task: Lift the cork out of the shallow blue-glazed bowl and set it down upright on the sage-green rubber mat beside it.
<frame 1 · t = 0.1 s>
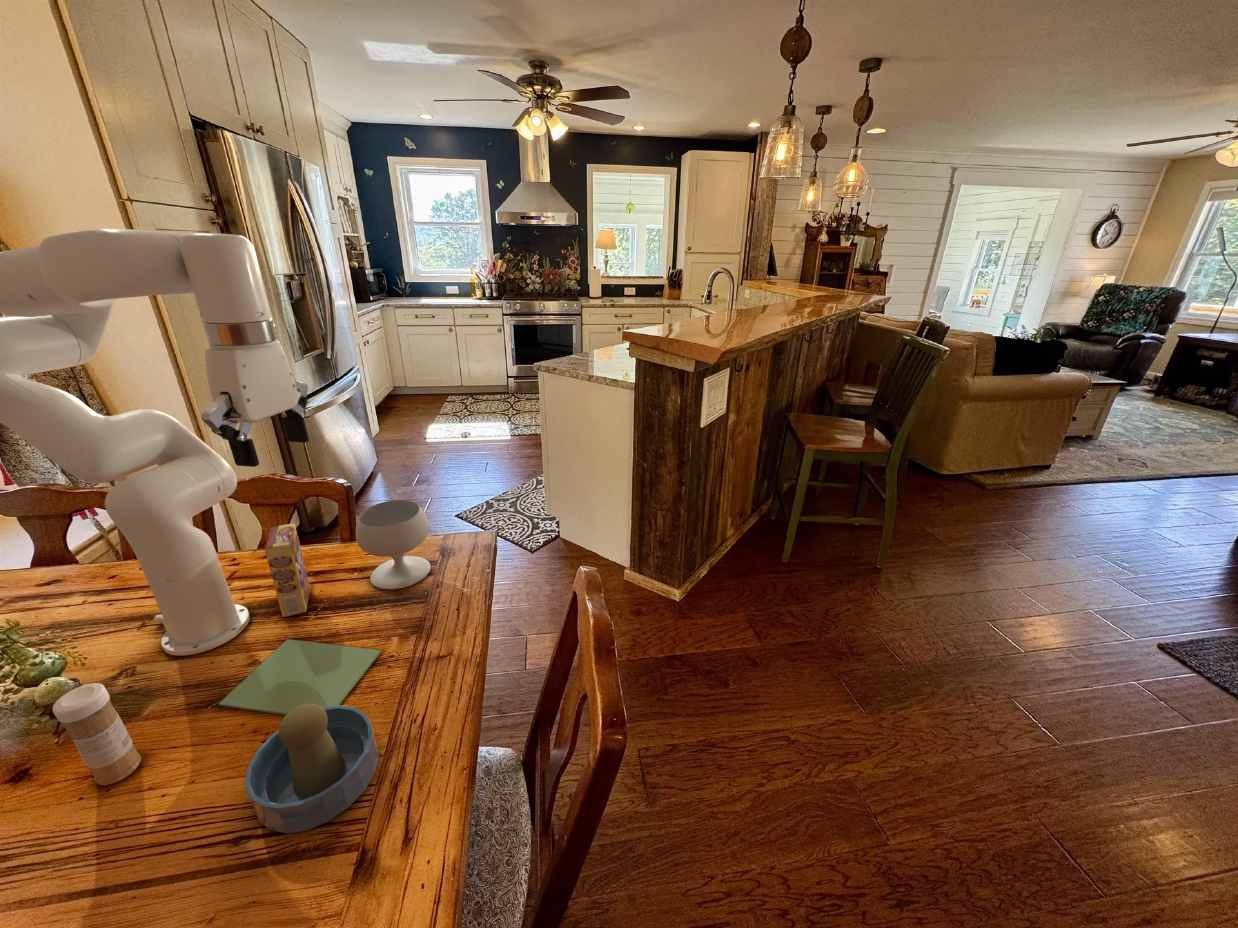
hand: (275, 452, 73), 37 cm above the table, tool pointing down, fingers open, 9 cm apart
cork: (320, 776, 65), resting on bowl
candy box: (298, 602, 98), on the table
sprinkles bottle: (120, 771, 66), on the table
chalice: (401, 574, 107), on the table
bowl: (320, 777, 65), on the table
mat: (305, 677, 80), on the table
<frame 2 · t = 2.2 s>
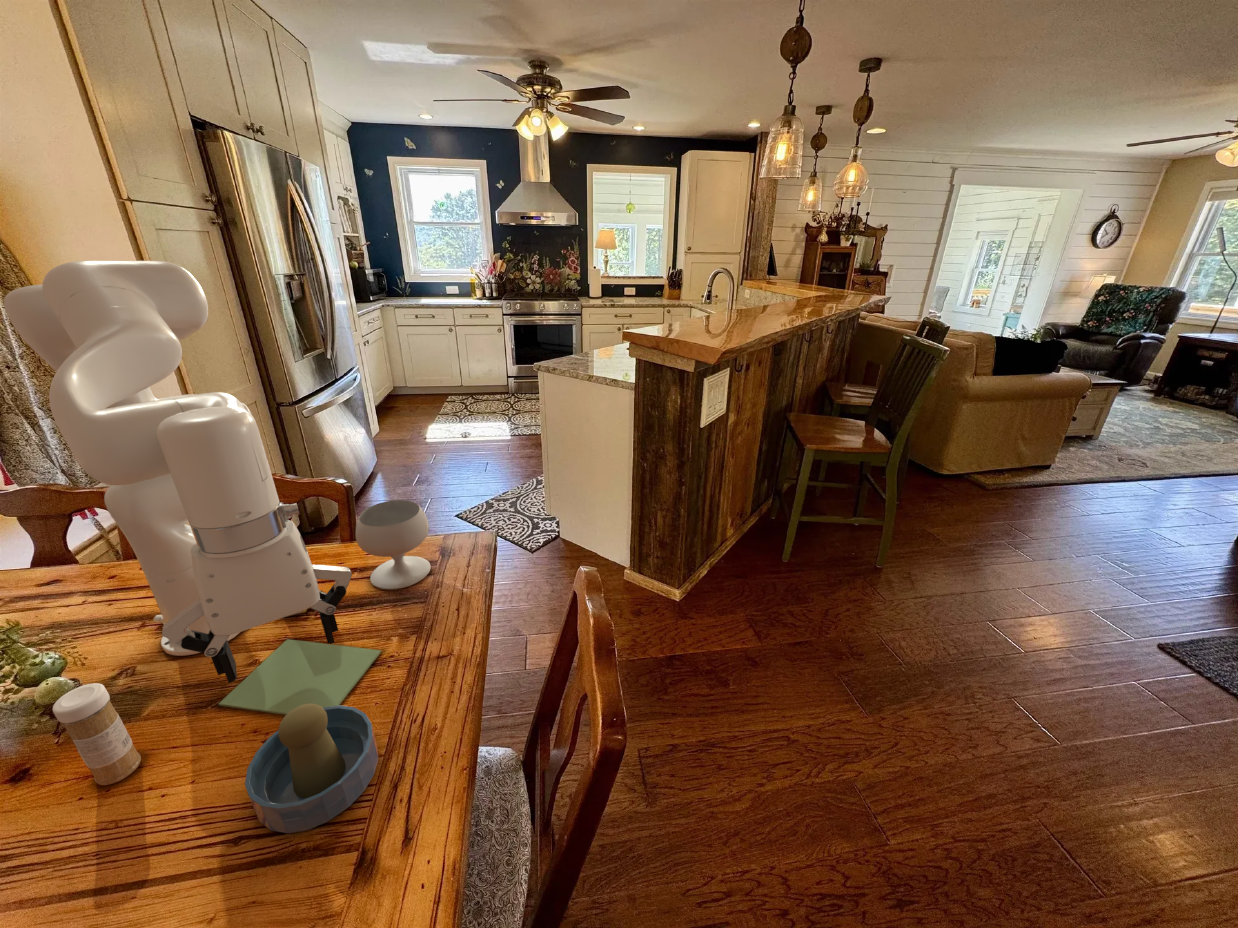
hand: (283, 654, 58), 21 cm above the table, tool pointing down, fingers open, 9 cm apart
nothing on the table moved.
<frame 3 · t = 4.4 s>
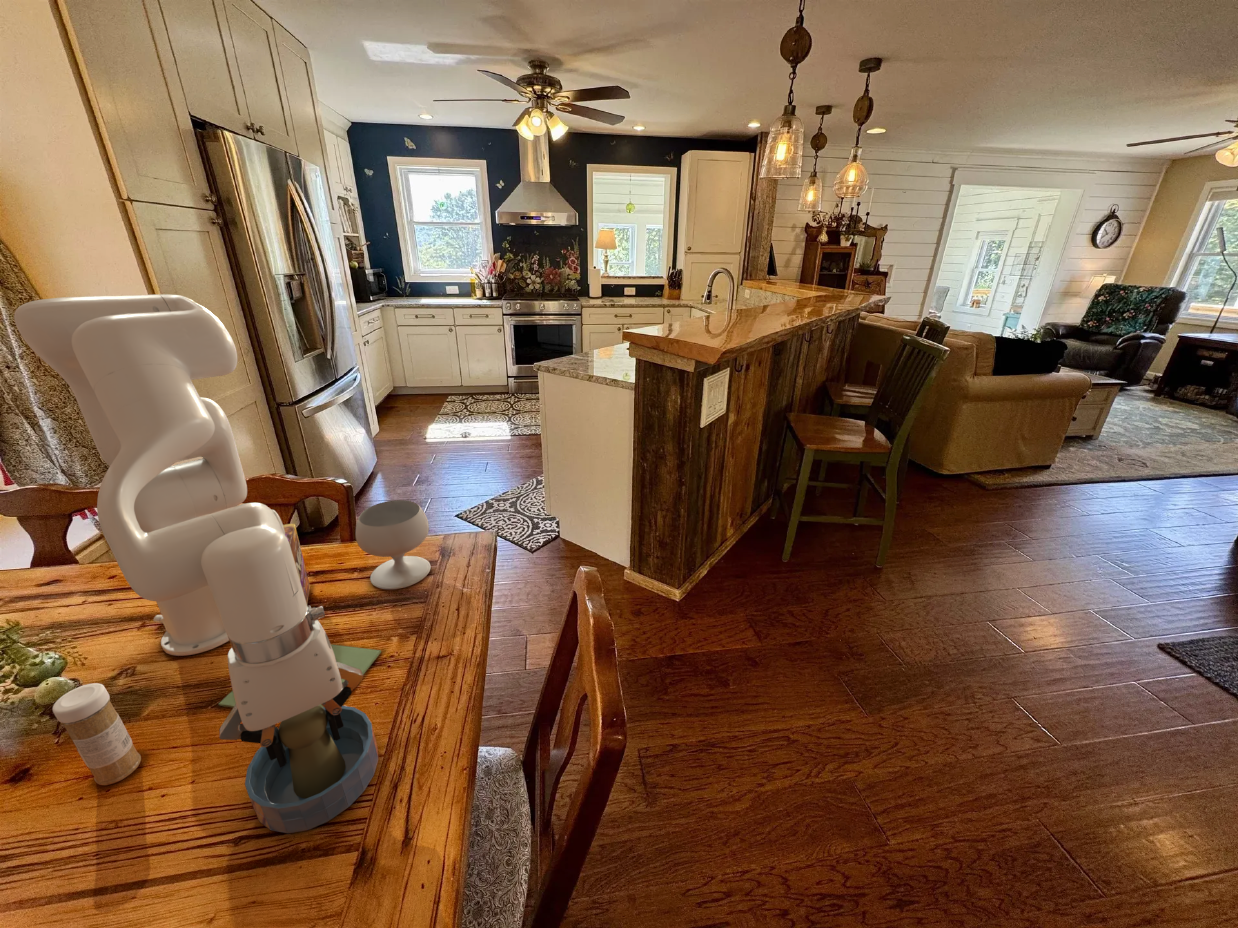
hand: (309, 743, 63), 6 cm above the table, tool pointing down, fingers closed on cork, 5 cm apart
cork: (320, 776, 65), resting on bowl, touching gripper
everything else where it was.
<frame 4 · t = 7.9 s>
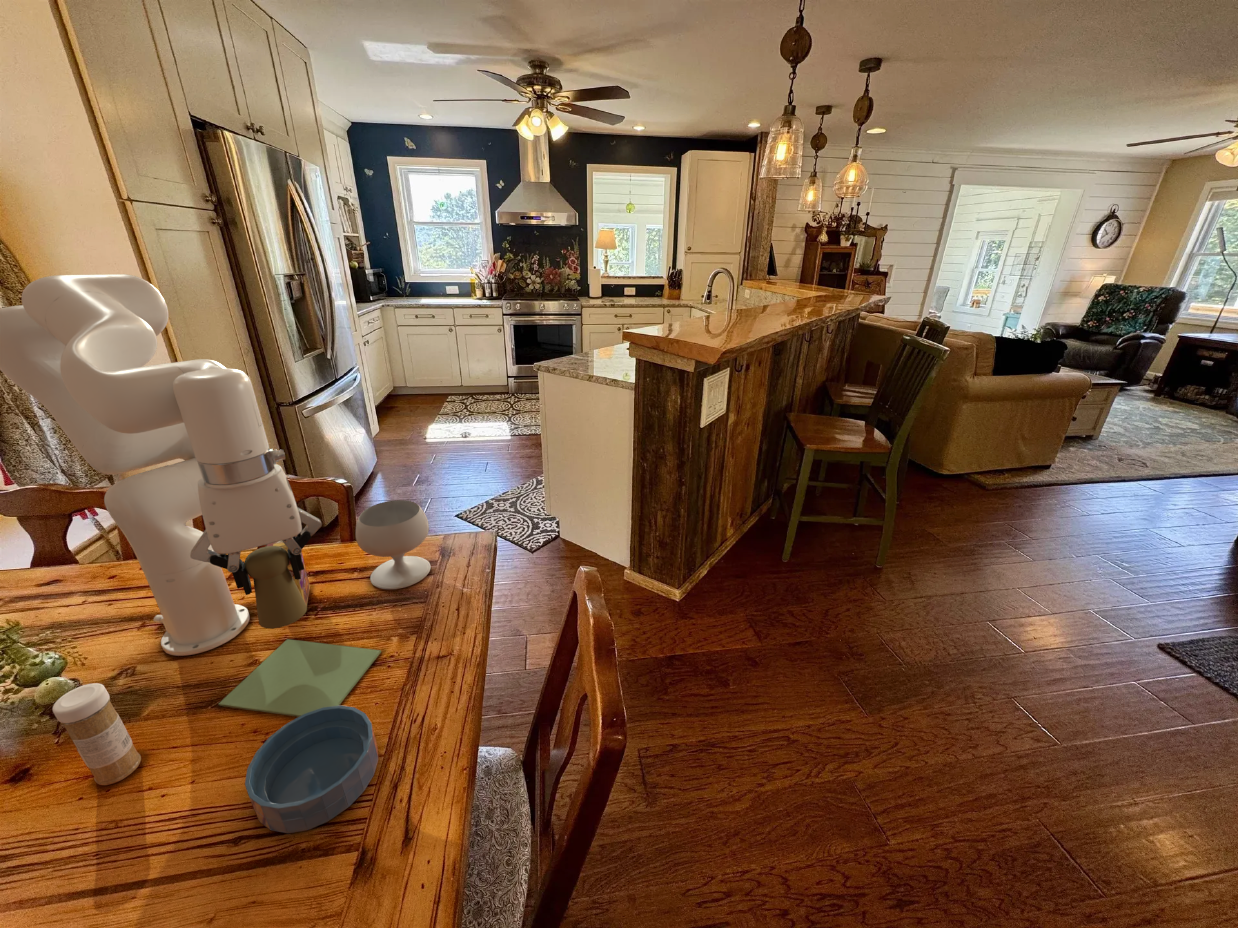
hand: (273, 580, 71), 21 cm above the table, tool pointing down, fingers closed on cork, 5 cm apart
cork: (283, 615, 73), point 14 cm above the table, touching gripper
everything else where it was.
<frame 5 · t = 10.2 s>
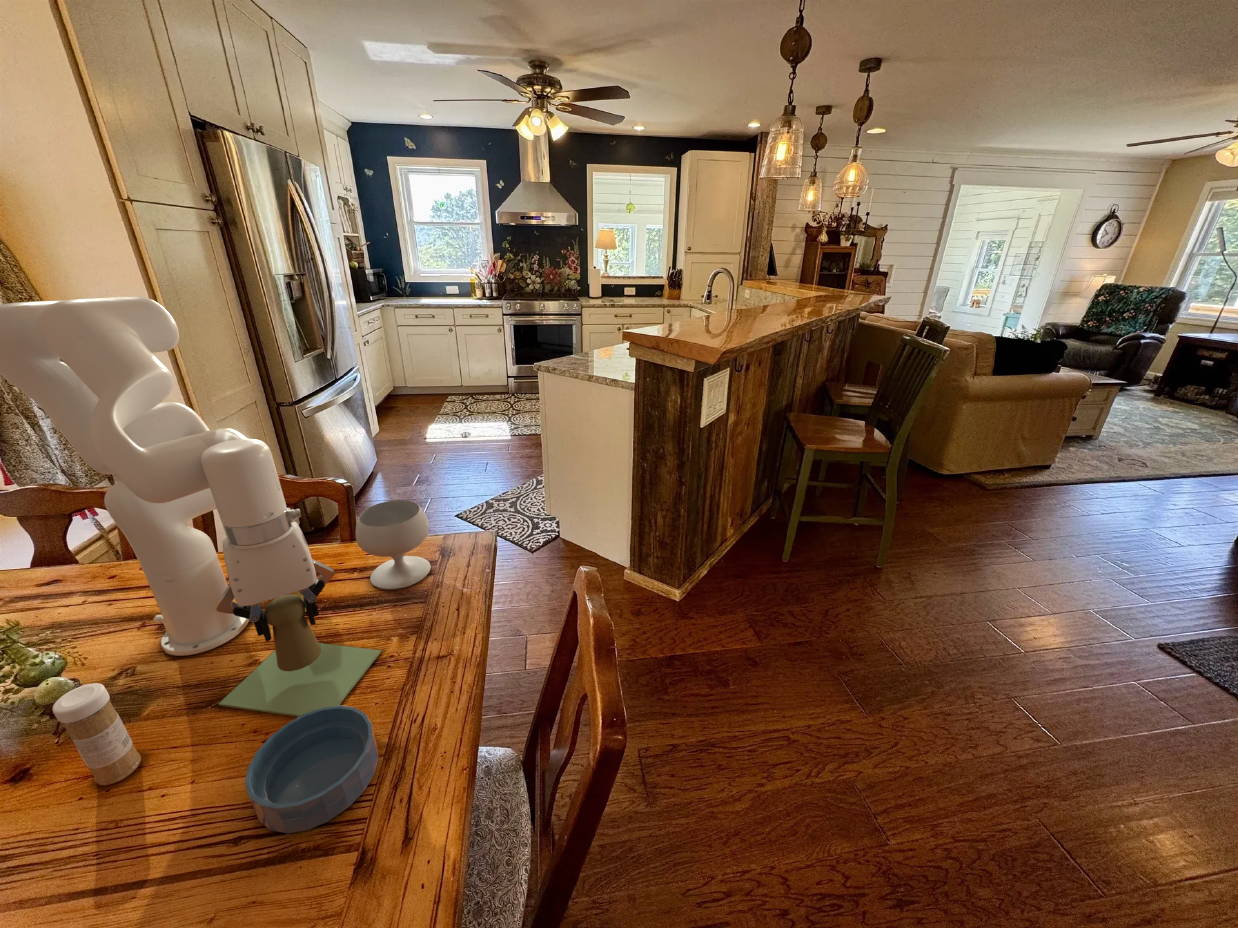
hand: (290, 626, 76), 10 cm above the table, tool pointing down, fingers closed on cork, 5 cm apart
cork: (300, 657, 79), point 4 cm above the table, touching gripper
everything else where it was.
when the fingers open (6 cm above the table, at t = 11.7 s): cork stays where it is, resting on mat.
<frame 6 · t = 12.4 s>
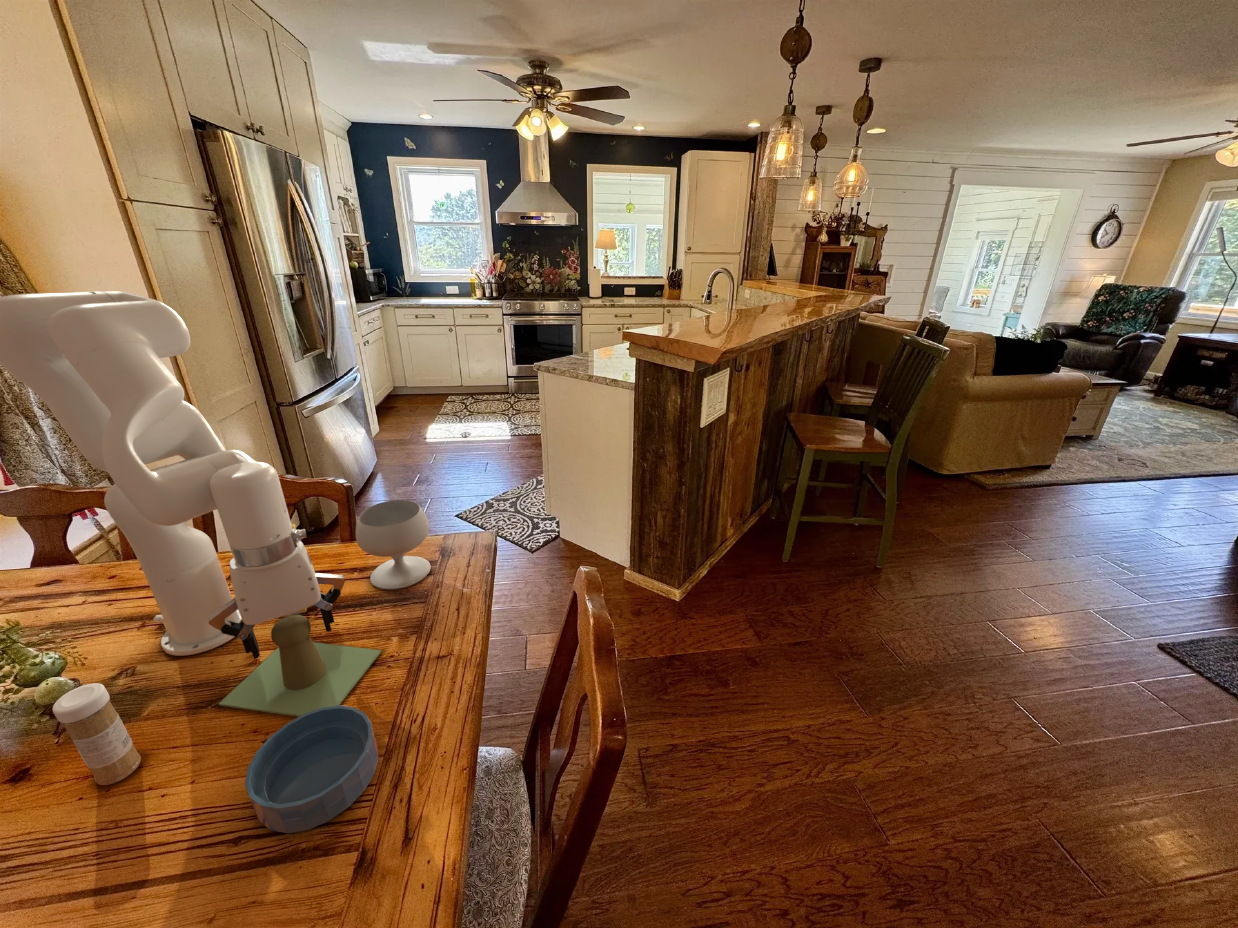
hand: (293, 639, 77), 8 cm above the table, tool pointing down, fingers open, 9 cm apart
cork: (305, 676, 80), resting on mat
everything else where it was.
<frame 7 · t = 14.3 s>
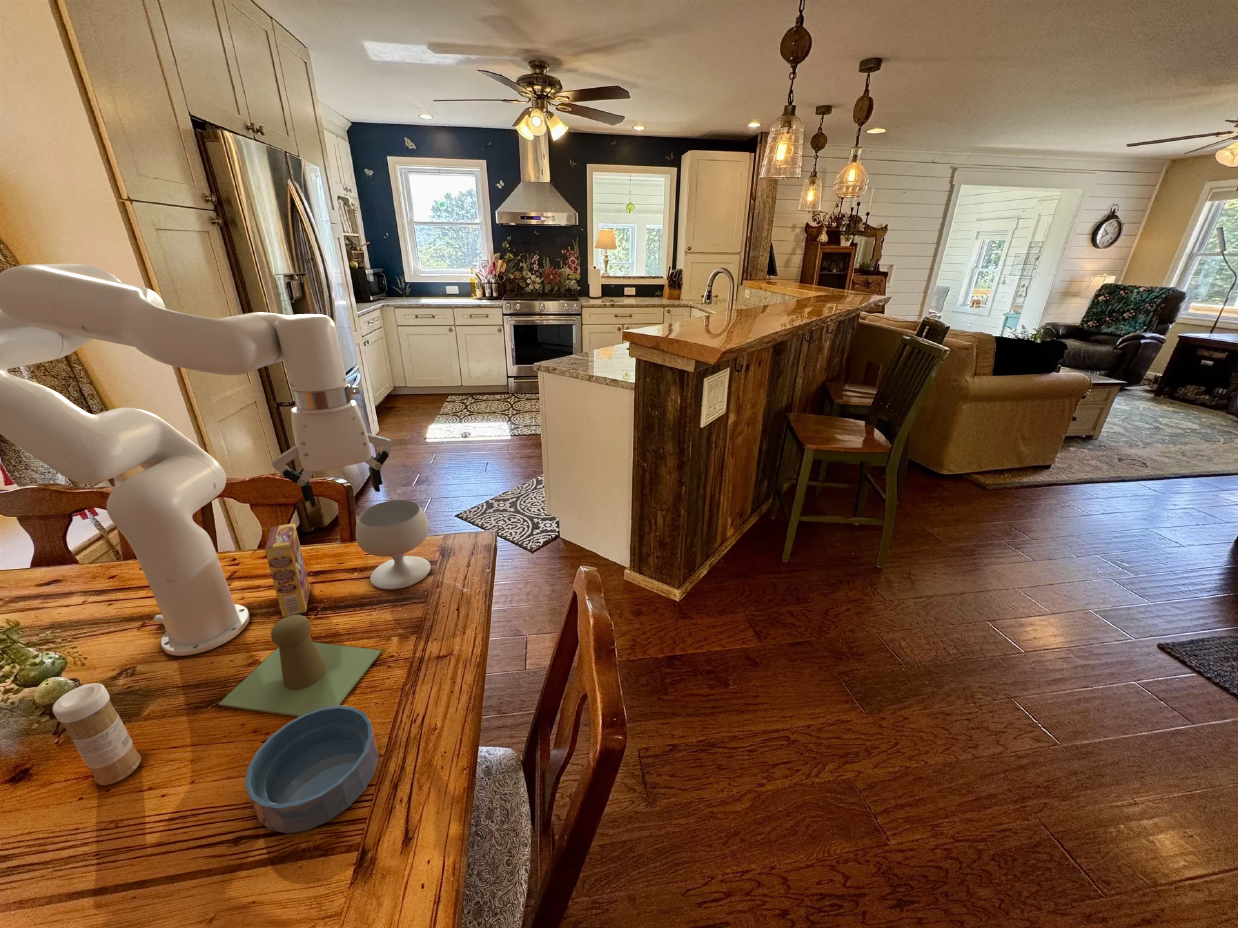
hand: (345, 496, 83), 26 cm above the table, tool pointing down, fingers open, 9 cm apart
nothing on the table moved.
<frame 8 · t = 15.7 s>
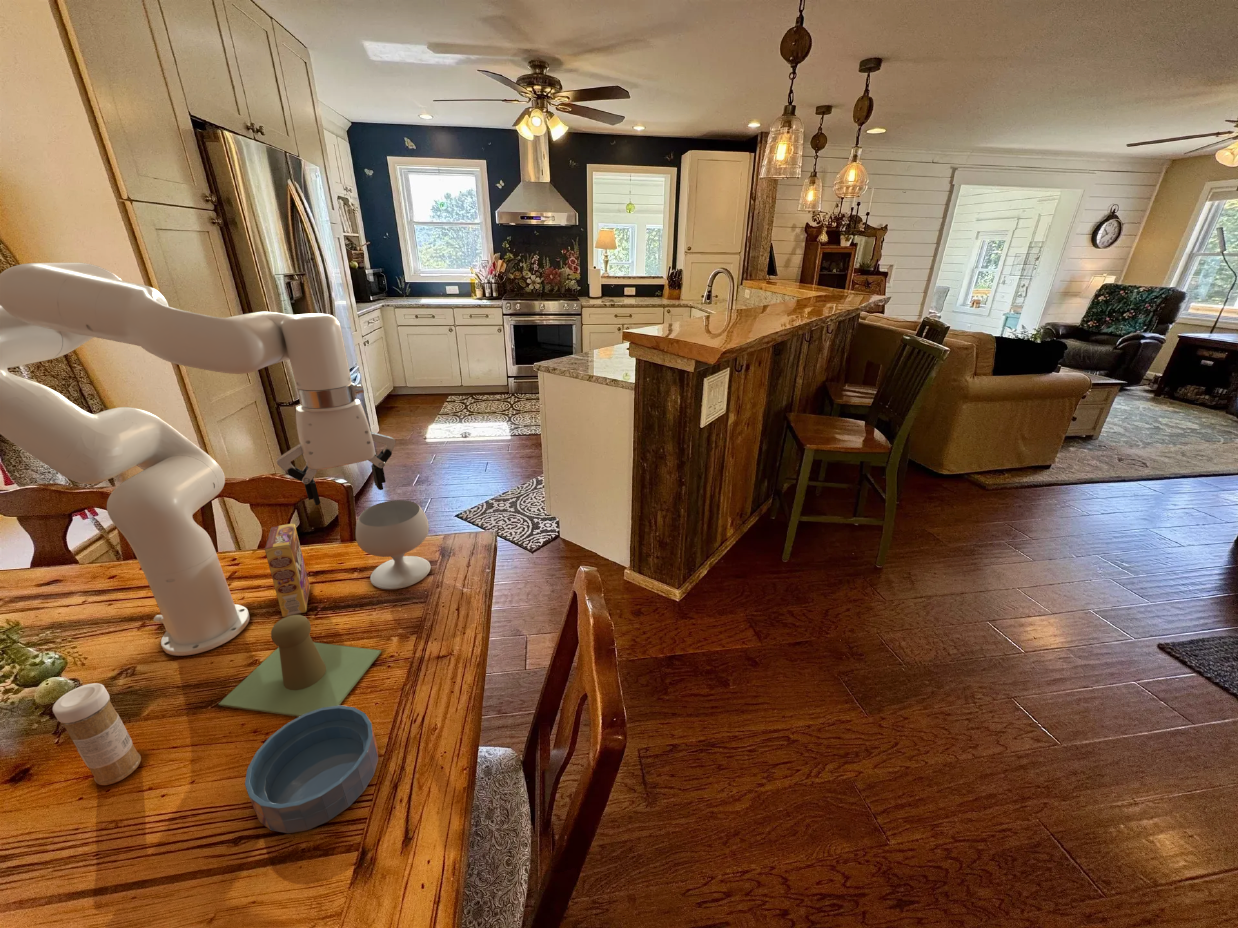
hand: (349, 494, 84), 26 cm above the table, tool pointing down, fingers open, 9 cm apart
nothing on the table moved.
at the end: cork inside the target area (0.1 cm from its centre), resting on mat; cork tilted 0°; cork touching mat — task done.
